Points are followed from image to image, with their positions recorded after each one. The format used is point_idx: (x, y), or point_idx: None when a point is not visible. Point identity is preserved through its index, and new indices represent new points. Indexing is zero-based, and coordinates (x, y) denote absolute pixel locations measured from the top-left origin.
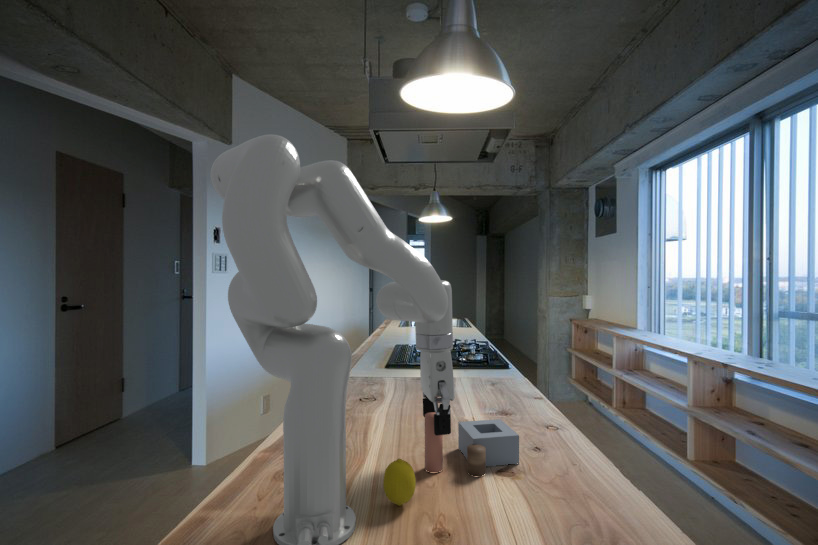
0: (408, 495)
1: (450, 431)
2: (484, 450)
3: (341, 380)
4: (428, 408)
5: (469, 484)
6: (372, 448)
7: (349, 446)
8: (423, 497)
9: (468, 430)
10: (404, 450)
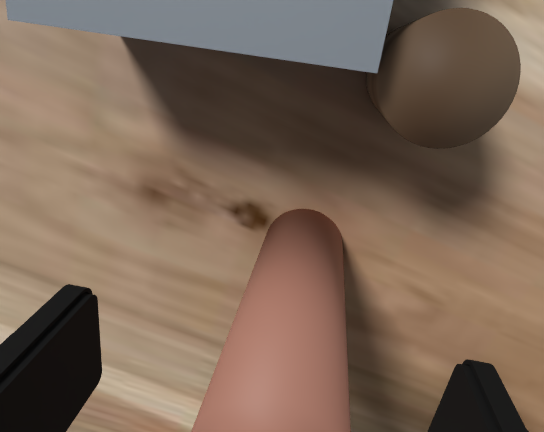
0: None
1: (497, 376)
2: (513, 42)
3: None
4: (60, 408)
5: (499, 164)
6: None
7: None
8: (493, 361)
9: (203, 25)
10: (97, 278)
